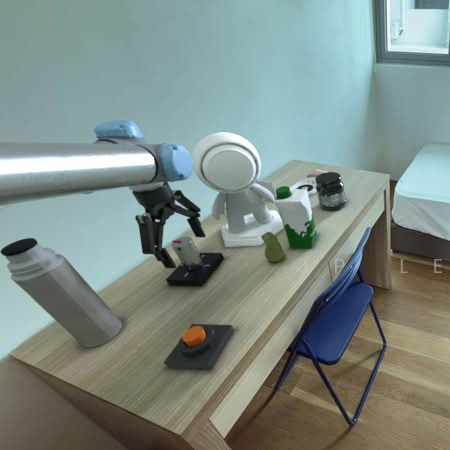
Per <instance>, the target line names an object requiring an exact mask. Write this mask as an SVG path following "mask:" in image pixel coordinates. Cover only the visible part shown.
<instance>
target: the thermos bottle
mask: <svg viewBox="0 0 450 450" xmlns="http://www.w3.org/2000/svg"><path fill="white" fill-rule="evenodd" d="M0 254H1V255H2V256H3V257H5V259H6V260H7V261H8V264H7V265H6V267H7V269H8V270H9V271H8V272H9V273H10V274H11V275H10V279H11V280H12V281H13V282H14V283H15V284H16V285H17V286H18V287H20V288H21V289H22V290H23V291H24V292H25V293H26V294H28V295H29V296H30V298H31V299H32V300H33V301H34V302H35V303H37V305H39V307H41V308H42V309H43V310H44V311H45V312H46V313H47V314H48V315H50V317H52V319H53V320H55V321H56V322H57V323H58V324H59V325H60V326H61V327H62V328H63V329H64V330H66V331H67V332H68V334H70V335H71V336H72V337H73V338H74V339H75V340H76V341H77V342H78V343H79V344H80V345H81V346H83V347H84V348H95V347H96V348H97V347H98V346H101V345H103V344H105V343H107V342H109V341H110V340H112V339H113V338H115V336H116V335H118V334H119V333H120V331H121V330H122V328H123V322H122V320H120V318H119V317H118V316H117V315H116V314H115V312H113V310H111V308H110V307H109V306H108V305H107V303H106V302H104V300H103V299H102V298H101V297H100V296H99V295H98V293H97V292H96V291H95V290H94V289H93V288H92V286H91V285H90V284H89V283H88V282H87V281H86V279H84V278H83V276H82V275H81V274H80V273H79V272H78V270H76V268H75V267H74V266H73V265H72V263H70V262H69V260H68V259H67V258H66V257H65V256H64V255H63V254H60V253H56V251H55V250H53V249H52V248H50V247H43V246H42V245H40V243H39V242H38V240H37V239H36V238H34V237H26V238H21V239H19V240H16V241H13V242H10V243H9V244H7V245H5V246H3V248H1V250H0Z"/></svg>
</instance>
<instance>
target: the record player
mask: <svg viewBox="0 0 450 450" xmlns="http://www.w3.org/2000/svg"><path fill="white" fill-rule="evenodd" d="M326 172H327V171H325V170H320V169H315V170H313V171H311V172H310V173H309V174H307V175H306V178H303V179H300V180H299V181H298V182H296V183H294V184H293V185H292V186H290V187H289V188H290V189H307V192H308V197H310V196H313V195H314V194H315V193H316V194H317V190H316V185H317V184H316V181H315V179H316V177H317V176H318V175H320V174H322V173H326Z"/></svg>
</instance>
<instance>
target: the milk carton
mask: <svg viewBox="0 0 450 450" xmlns="http://www.w3.org/2000/svg"><path fill="white" fill-rule="evenodd" d="M290 188H291V187H289V186H286V185H285V186H284V185H283V186H279V187H277V188H275V189H276V194H277V197H276V199H275V201H274V203H273V204H274V205H275V206H276V208H277V210H278V213H279V216H280V218H281V219H282V222H283V225H284V231H285V234H286V238H287V242H288V244H289V245H288V246H289V248H290V249H312V248H313V246H314V244H315V241H316V238H317V236H318V234H317V228H316V223H315V219H314V214H313V211H312V206H311V203H310V196H308V192H307V189H290Z"/></svg>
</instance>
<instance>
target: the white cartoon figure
mask: <svg viewBox="0 0 450 450" xmlns="http://www.w3.org/2000/svg"><path fill="white" fill-rule="evenodd" d="M191 158H192V163H193V170H194V173H195V175H196V176H197V178H198V179H199V180H200V181H201V183H202V184H204V185H205V186H206V187H208V188H210V189H211V190H213V191H215V192H218V194H217V195H216V197H215V199H214V201H213V204H212V206H211V214H212V217H213V218H214V219H215V220H216V221H219V220H220V217H219V216H220V215H222V216H225V214H226V220H227V221H226V224H223V225H222V226H221V227H220V233H221V236H222V239H223V243H224V247H225V248H239V247H240V248H241V247H258V246H259V247H260V246H262V245H263V244H265V242H264V241H263V239H262V237H261V236H262V235H264V234H265V233H266V232H272V233H273V234H274V235H275V236H276V235H278V234H279V232H281V231H283V230H285V228H284V225H283V222H282V219H281V216H280V213H279V211H277V210H273V209H271V210H269V208H268V207H267V205H266V204H265V203H267V202H268V201H270V202H271V204H275V203H274V202H275V200H276V199H274V196H273V194H272V193H271V192H270V191H269V190H267V189H266V188H264V187H262V186H261V185H259V184H256V183H255V182H256V180H257V179H259V177H260V175H261V169H262V162H261V158H260V155H259V152H258V151H257V149H256V147H255V146H254V145H253V144H252V143H251V142H250V141H249V140H248V139H246V138H244V136H241V135H239V134H236V133H233V132H228V131H227V132H225V131H223V132H222V131H221V132H214V133H211V134H209V135H206V136H205V137H203V138H202V139H201V140H200V141H198V143H197V144H196V146H195V147H194V150H193V152H192V156H191ZM256 193H257V194H258V195H260V196H261V197H260V196H258V195H257V194H256ZM225 210H226V211H225ZM225 212H226V213H225Z"/></svg>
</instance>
